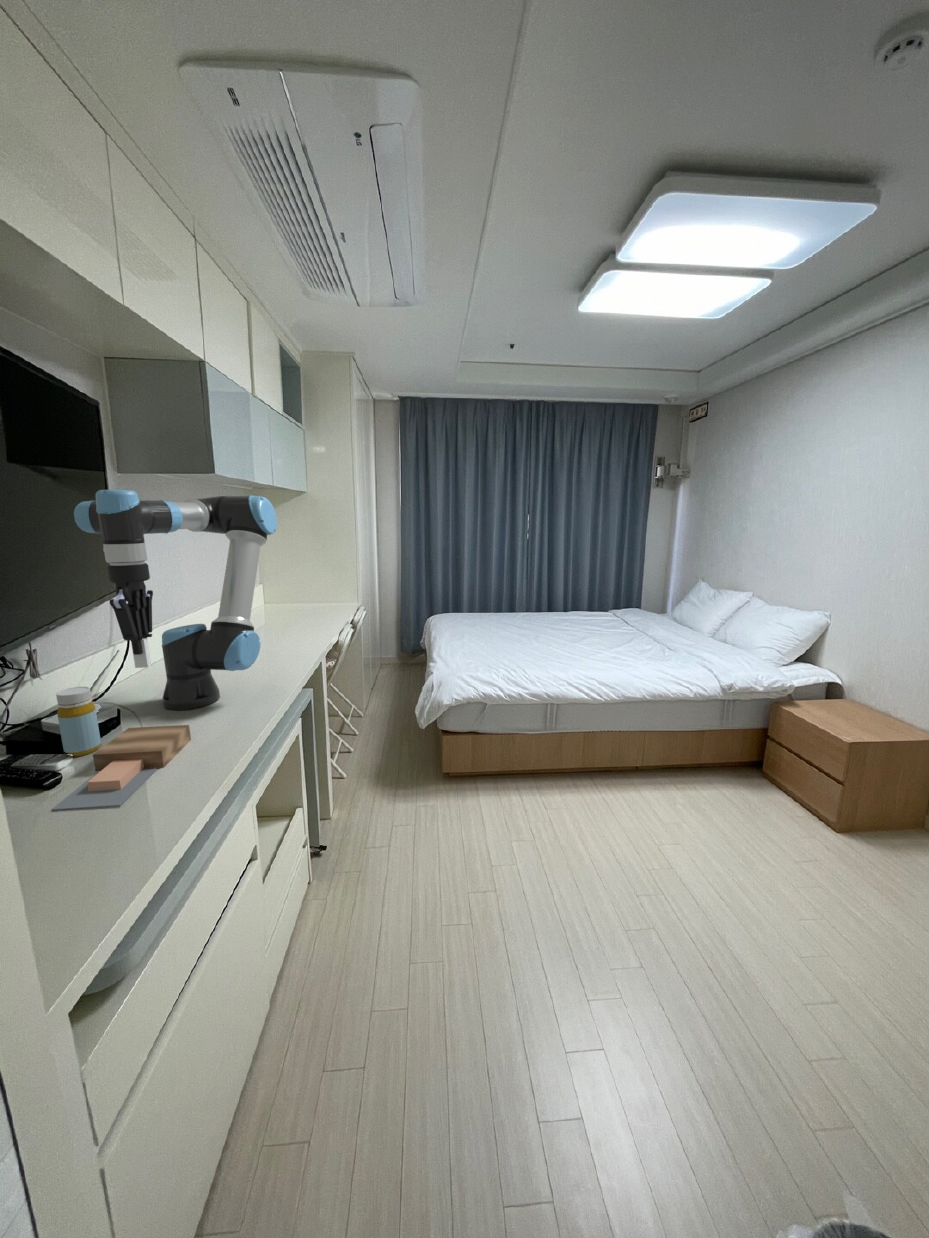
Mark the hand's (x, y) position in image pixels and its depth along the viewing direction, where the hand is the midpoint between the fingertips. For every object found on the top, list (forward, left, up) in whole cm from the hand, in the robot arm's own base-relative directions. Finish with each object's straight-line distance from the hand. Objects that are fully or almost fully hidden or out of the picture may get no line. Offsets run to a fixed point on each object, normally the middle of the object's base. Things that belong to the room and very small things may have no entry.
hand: (143, 666), depth 111 cm
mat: (+16, -1, -21) cm, 27 cm away
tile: (+13, -1, -21) cm, 24 cm away
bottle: (-3, -17, -21) cm, 28 cm away
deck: (+1, -1, -21) cm, 21 cm away
